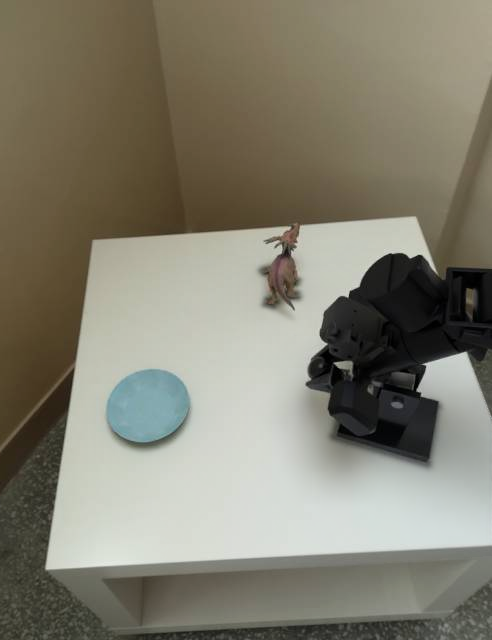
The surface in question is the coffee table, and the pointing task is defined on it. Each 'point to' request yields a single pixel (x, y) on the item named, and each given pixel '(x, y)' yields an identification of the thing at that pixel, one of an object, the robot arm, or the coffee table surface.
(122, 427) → the saucer
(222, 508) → the coffee table surface
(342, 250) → the coffee table surface
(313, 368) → the lever
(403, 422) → the bracket
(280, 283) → the dinosaur figurine
